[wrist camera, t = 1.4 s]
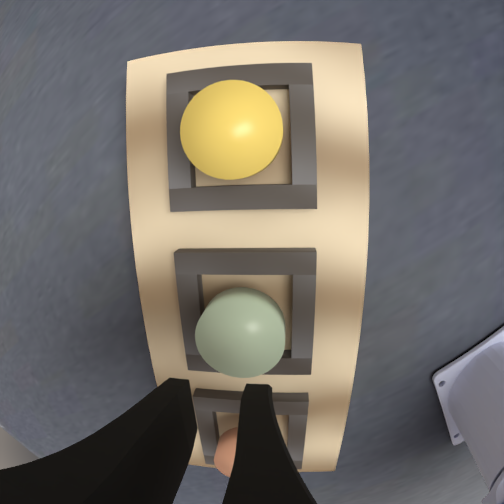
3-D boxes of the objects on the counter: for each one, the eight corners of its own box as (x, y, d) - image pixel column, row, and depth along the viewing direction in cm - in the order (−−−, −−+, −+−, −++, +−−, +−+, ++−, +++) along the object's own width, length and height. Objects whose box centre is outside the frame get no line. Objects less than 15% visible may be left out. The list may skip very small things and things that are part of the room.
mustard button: (301, 148, 12) (302, 145, 10) (221, 196, 13) (213, 199, 11) (251, 72, 11) (247, 61, 10) (175, 122, 12) (162, 117, 11)
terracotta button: (293, 455, 16) (292, 472, 14) (240, 469, 16) (237, 486, 15) (261, 418, 15) (258, 436, 14) (206, 436, 16) (200, 453, 14)
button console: (332, 446, 20) (335, 479, 17) (186, 439, 21) (174, 470, 18) (351, 60, 14) (364, 37, 11) (147, 73, 15) (120, 56, 12)
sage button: (300, 339, 14) (301, 356, 12) (232, 371, 14) (227, 388, 13) (257, 272, 13) (253, 283, 12) (187, 310, 14) (177, 324, 13)
